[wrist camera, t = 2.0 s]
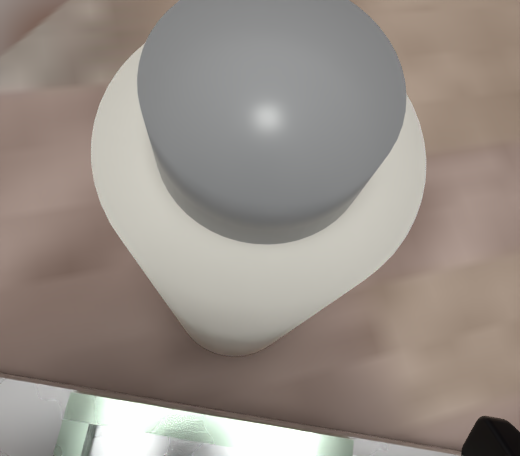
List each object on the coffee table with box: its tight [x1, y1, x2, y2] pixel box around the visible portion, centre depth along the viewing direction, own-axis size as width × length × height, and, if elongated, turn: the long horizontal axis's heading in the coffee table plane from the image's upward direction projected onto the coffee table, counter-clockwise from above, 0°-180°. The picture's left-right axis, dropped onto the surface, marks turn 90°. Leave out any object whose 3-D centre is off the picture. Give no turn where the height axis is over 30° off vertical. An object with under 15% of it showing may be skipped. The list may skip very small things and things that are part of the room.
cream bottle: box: [91, 0, 426, 356], centre depth 12 cm, size 5×5×14 cm
